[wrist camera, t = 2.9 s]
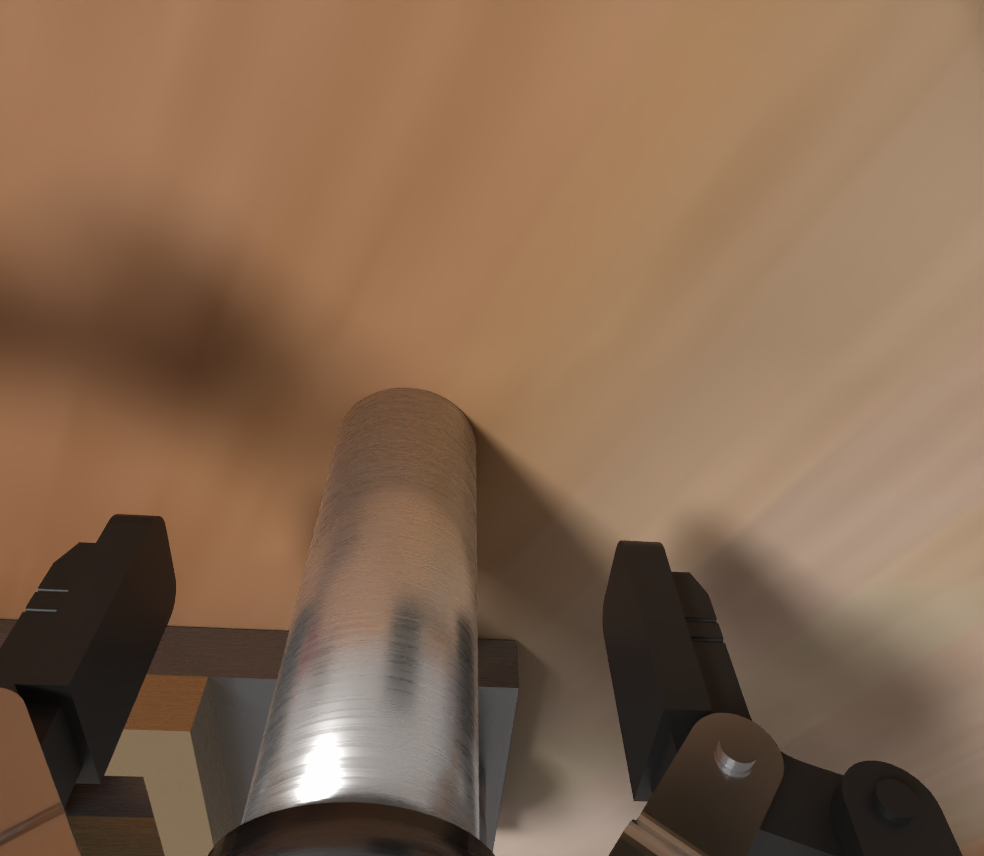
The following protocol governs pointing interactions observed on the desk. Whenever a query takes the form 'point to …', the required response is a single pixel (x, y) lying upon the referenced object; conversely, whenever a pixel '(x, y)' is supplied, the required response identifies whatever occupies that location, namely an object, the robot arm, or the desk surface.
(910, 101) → the desk surface
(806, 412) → the desk surface
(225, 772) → the two-tone base plate
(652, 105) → the desk surface
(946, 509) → the desk surface
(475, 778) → the pin
